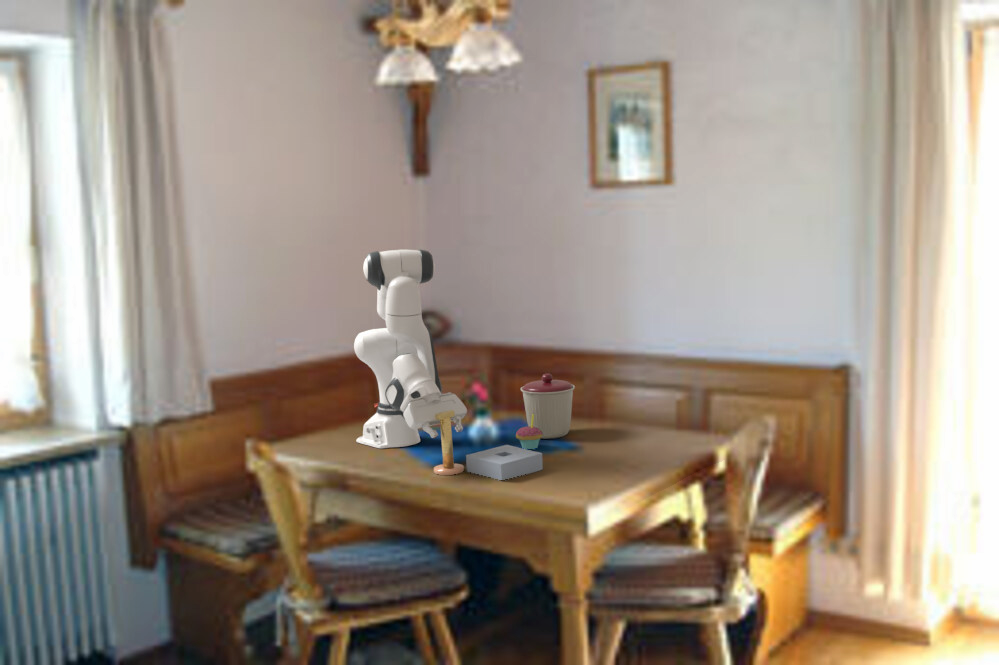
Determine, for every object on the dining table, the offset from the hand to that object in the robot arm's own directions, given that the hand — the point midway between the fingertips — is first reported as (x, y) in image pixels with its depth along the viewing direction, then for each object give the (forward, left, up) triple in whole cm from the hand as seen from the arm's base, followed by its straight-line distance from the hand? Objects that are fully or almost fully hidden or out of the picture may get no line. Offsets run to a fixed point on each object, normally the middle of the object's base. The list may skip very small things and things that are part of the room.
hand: (448, 433), depth 308 cm
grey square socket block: (+14, +9, -12) cm, 20 cm away
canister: (+1, +51, -12) cm, 52 cm away
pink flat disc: (-1, 0, -12) cm, 12 cm away
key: (-1, 0, -10) cm, 10 cm away
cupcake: (+5, +34, -12) cm, 36 cm away
